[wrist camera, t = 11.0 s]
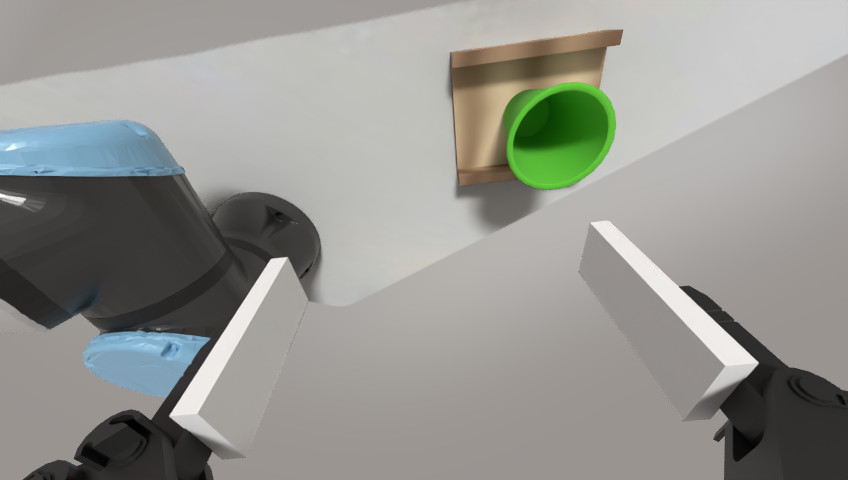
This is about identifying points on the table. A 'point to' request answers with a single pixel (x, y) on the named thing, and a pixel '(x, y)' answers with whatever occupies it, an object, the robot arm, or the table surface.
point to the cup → (558, 134)
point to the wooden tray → (513, 92)
